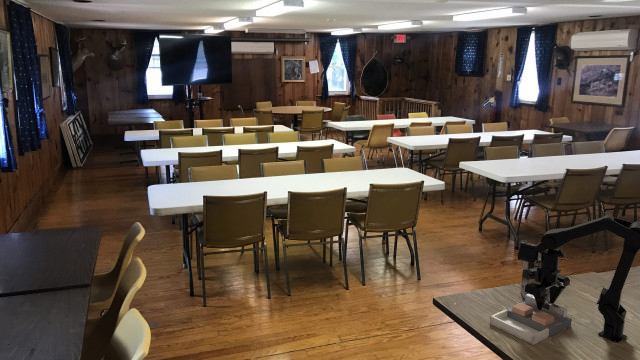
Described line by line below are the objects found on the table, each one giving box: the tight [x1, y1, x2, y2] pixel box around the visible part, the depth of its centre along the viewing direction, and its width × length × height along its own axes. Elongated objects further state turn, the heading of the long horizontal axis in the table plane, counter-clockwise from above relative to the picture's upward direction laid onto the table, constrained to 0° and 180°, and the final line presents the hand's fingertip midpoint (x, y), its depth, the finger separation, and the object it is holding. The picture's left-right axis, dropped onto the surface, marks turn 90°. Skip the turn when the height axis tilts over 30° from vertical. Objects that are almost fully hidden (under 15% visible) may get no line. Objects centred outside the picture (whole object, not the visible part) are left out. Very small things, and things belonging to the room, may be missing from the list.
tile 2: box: [532, 311, 554, 326], centre depth 171 cm, size 5×5×2 cm
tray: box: [489, 309, 550, 346], centre depth 171 cm, size 8×17×3 cm, turn 33°
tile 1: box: [511, 302, 533, 317], centre depth 178 cm, size 5×5×2 cm
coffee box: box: [520, 255, 550, 301], centre depth 196 cm, size 9×6×16 cm
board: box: [505, 301, 573, 338], centre depth 177 cm, size 13×17×3 cm
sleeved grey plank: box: [524, 294, 569, 320], centre depth 178 cm, size 2×15×4 cm, turn 33°
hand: (545, 307), depth 178 cm, fingers open, 7 cm apart
